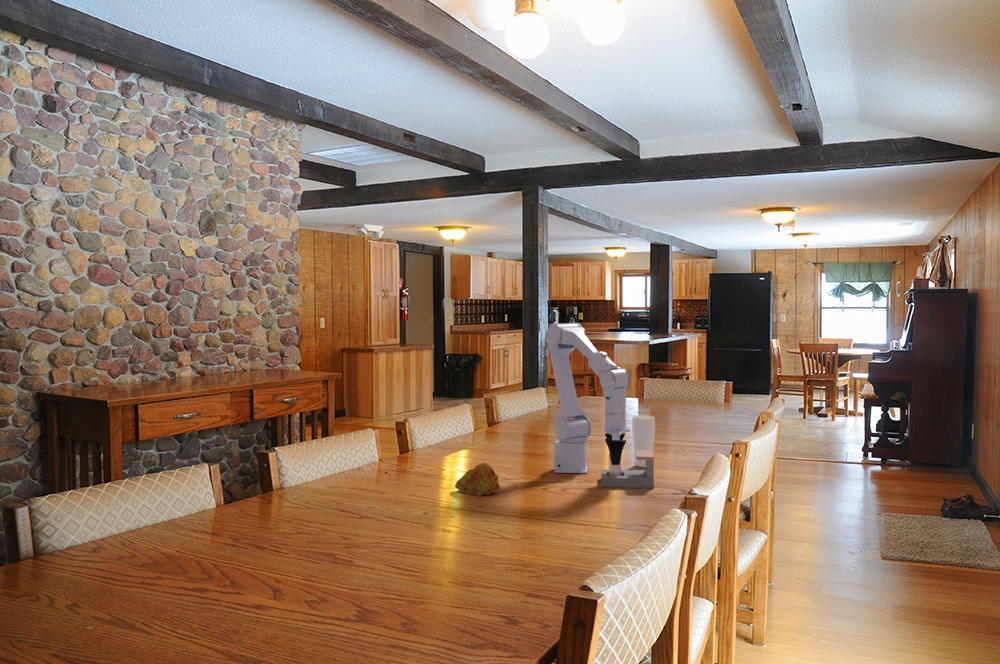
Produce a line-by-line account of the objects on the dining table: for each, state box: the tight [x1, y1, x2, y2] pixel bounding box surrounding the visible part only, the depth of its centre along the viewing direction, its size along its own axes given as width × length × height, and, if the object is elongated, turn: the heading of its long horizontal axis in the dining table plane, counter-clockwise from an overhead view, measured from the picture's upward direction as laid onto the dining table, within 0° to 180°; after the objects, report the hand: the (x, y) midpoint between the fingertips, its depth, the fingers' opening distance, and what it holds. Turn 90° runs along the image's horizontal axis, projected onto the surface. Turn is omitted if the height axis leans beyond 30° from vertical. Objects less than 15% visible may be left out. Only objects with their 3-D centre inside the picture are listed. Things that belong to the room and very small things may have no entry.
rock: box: [454, 462, 501, 497], centre depth 193 cm, size 11×8×10 cm
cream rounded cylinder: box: [631, 415, 656, 468], centre depth 221 cm, size 7×7×15 cm
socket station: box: [600, 450, 655, 489], centre depth 200 cm, size 14×10×8 cm
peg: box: [608, 452, 622, 476], centre depth 201 cm, size 3×3×8 cm
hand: (615, 461), depth 201 cm, fingers open, 7 cm apart
